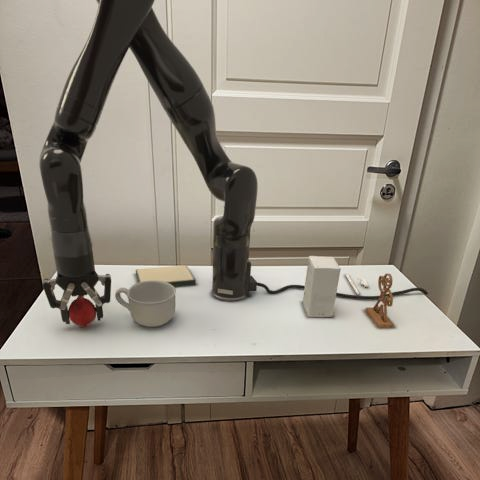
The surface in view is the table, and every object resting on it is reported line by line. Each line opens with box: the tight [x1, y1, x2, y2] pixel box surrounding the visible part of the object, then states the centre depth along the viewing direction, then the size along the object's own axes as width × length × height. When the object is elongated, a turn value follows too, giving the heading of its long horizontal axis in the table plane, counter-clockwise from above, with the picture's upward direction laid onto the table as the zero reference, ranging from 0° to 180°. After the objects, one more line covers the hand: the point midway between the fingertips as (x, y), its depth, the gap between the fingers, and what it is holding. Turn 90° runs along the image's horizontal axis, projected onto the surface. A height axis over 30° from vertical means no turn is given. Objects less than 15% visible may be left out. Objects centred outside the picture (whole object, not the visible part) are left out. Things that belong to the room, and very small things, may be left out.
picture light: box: [345, 273, 369, 296], centre depth 124 cm, size 14×4×2 cm, turn 1°
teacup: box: [114, 280, 177, 328], centre depth 99 cm, size 14×11×8 cm
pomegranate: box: [68, 295, 97, 328], centre depth 95 cm, size 6×6×8 cm
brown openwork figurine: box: [364, 273, 395, 329], centre depth 104 cm, size 9×4×12 cm, turn 7°
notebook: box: [135, 264, 197, 288], centre depth 121 cm, size 15×11×2 cm
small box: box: [302, 255, 341, 318], centre depth 106 cm, size 8×6×13 cm
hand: (83, 320), depth 96 cm, fingers closed on pomegranate, 6 cm apart
